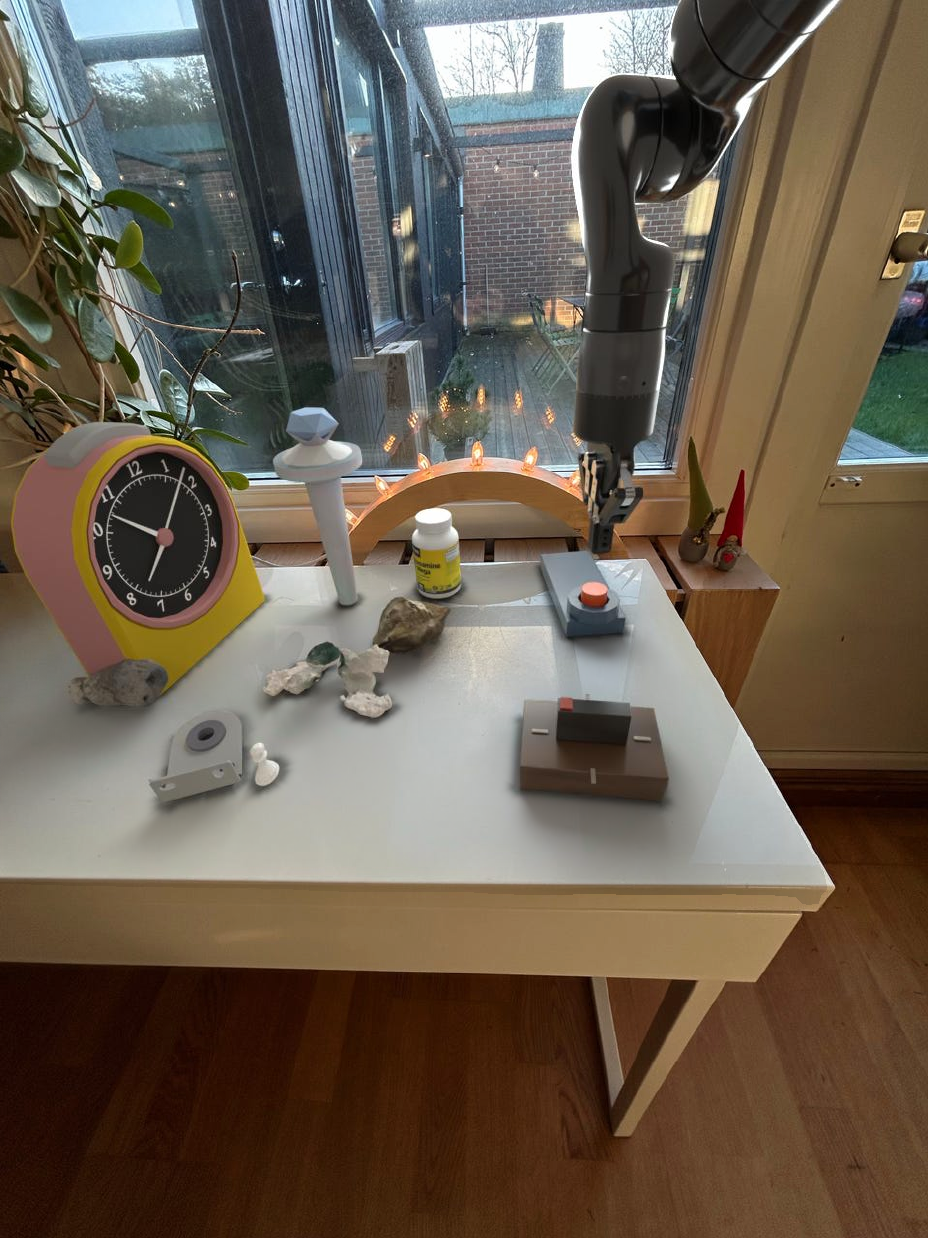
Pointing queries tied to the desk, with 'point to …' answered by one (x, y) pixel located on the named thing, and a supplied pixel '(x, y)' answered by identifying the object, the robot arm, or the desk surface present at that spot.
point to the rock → (349, 668)
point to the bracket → (202, 756)
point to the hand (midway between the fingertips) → (598, 550)
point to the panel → (592, 757)
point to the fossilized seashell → (409, 625)
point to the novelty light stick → (324, 487)
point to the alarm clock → (133, 547)
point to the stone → (121, 684)
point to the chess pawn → (263, 765)
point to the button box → (579, 594)
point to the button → (594, 594)
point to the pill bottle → (436, 554)
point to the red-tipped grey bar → (593, 721)
